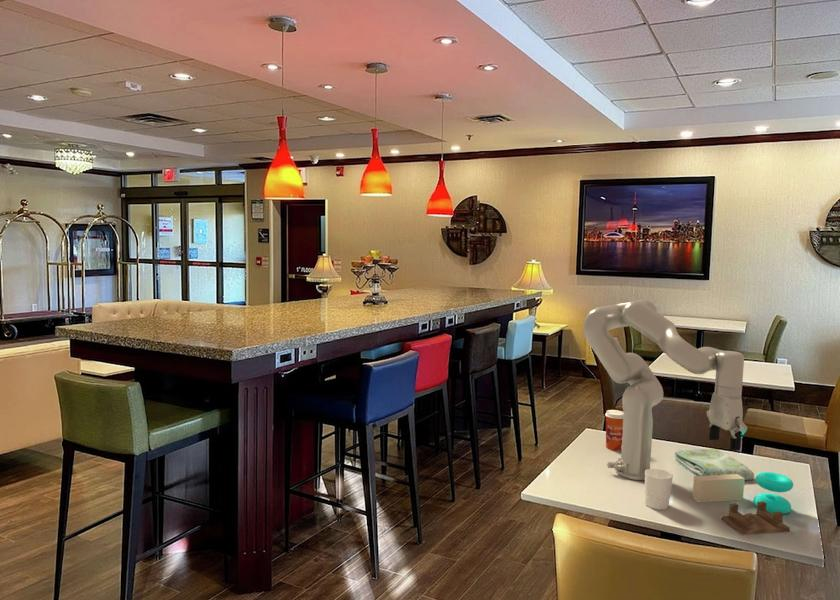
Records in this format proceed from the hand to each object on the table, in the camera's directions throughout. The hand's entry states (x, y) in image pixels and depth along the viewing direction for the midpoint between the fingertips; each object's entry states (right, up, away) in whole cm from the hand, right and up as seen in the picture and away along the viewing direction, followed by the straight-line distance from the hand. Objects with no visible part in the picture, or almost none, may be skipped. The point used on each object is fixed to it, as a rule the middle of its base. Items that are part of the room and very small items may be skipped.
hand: (724, 444), depth 197 cm
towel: (+7, -15, +25) cm, 30 cm away
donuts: (+12, -18, -6) cm, 22 cm away
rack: (0, -19, -17) cm, 26 cm away
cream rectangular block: (-2, -17, +1) cm, 17 cm away
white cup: (-23, -17, -5) cm, 29 cm away
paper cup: (-21, -12, +45) cm, 51 cm away
